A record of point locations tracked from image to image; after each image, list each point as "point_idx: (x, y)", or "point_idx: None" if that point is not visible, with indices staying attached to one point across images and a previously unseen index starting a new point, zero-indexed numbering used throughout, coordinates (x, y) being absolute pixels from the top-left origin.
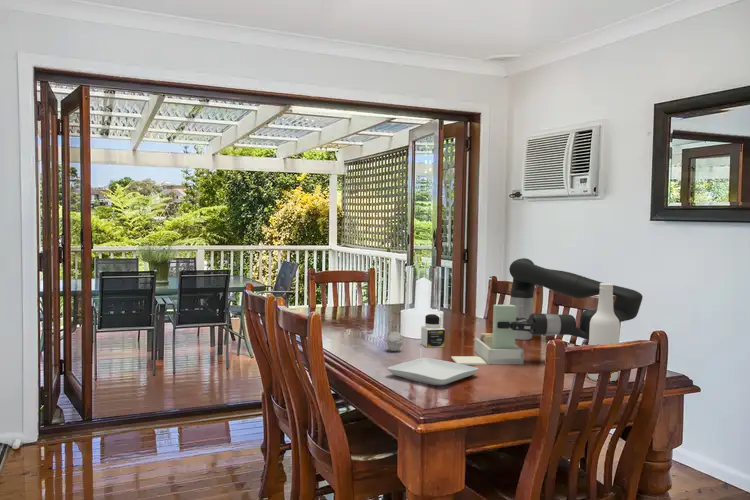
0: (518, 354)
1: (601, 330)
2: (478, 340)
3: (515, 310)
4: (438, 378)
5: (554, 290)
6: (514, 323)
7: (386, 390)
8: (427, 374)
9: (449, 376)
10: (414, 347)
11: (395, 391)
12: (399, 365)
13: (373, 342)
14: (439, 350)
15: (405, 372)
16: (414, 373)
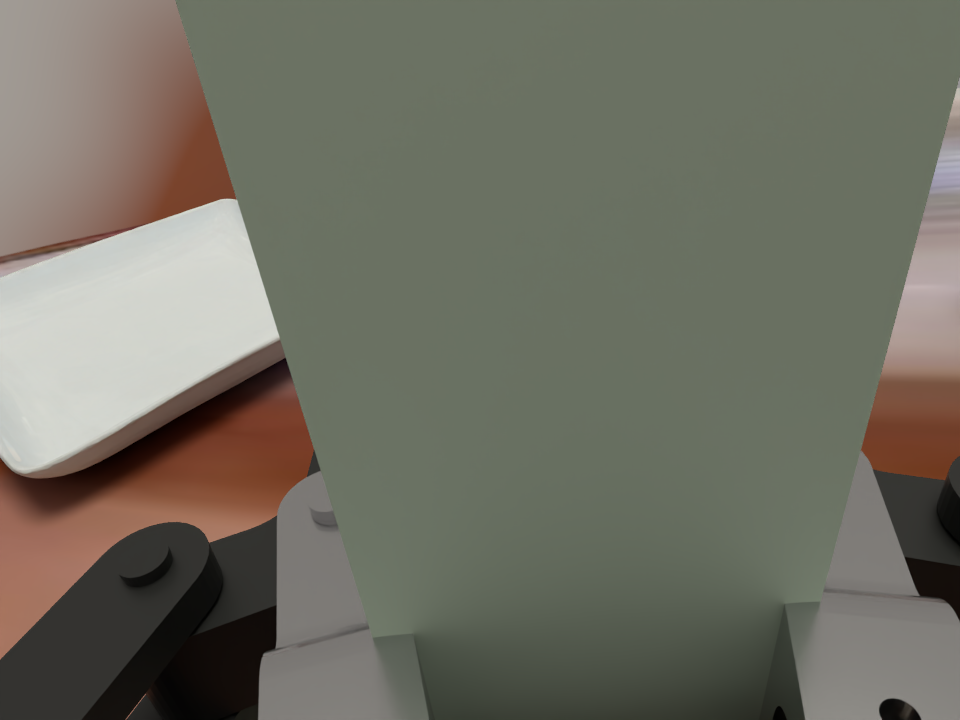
0: None
1: None
2: None
3: (271, 233)
4: (81, 339)
5: None
6: (102, 570)
7: (55, 244)
8: (185, 311)
9: (95, 376)
10: (928, 266)
11: (26, 259)
12: None
13: (941, 161)
14: (917, 363)
15: (130, 235)
16: (77, 249)
